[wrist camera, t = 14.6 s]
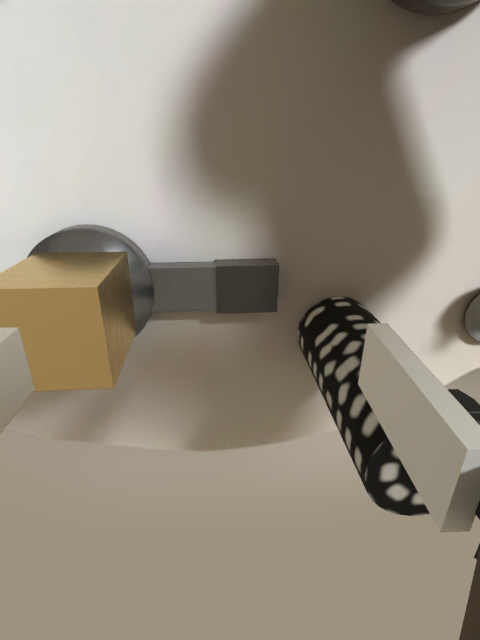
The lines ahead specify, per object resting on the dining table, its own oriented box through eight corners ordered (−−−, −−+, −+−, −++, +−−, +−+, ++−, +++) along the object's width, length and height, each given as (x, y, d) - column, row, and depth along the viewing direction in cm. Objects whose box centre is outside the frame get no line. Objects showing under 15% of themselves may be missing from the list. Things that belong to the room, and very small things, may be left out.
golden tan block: (35, 252, 34) (-28, 289, 25) (127, 251, 35) (97, 286, 25) (53, 333, 37) (2, 392, 28) (136, 331, 38) (113, 388, 29)
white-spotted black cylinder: (297, 367, 44) (359, 521, 25) (298, 299, 40) (370, 421, 22) (368, 361, 44) (480, 509, 26) (375, 293, 41) (508, 408, 22)
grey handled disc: (276, 222, 37) (294, 240, 29) (272, 333, 42) (286, 375, 34) (19, 225, 35) (-34, 245, 28) (46, 340, 40) (6, 385, 32)
